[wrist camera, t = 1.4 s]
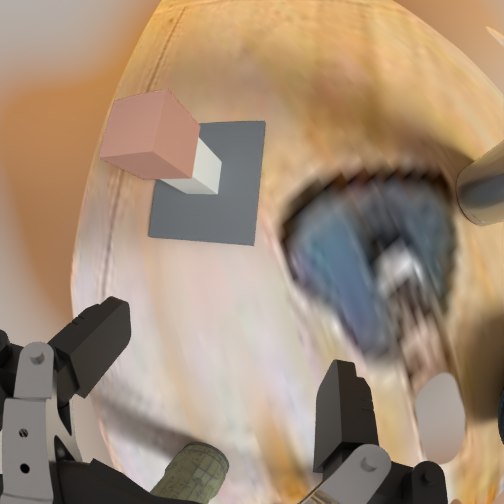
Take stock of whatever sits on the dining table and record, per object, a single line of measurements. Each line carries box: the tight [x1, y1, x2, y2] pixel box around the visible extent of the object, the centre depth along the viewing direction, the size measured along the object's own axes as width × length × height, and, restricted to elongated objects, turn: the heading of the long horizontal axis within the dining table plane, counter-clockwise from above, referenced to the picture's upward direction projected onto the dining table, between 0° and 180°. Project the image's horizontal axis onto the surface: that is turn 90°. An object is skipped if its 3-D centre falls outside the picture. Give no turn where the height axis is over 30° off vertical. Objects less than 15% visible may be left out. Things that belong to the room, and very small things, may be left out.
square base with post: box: [149, 121, 266, 246], centre depth 31 cm, size 18×16×18 cm
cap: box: [99, 89, 200, 180], centre depth 25 cm, size 6×6×8 cm
